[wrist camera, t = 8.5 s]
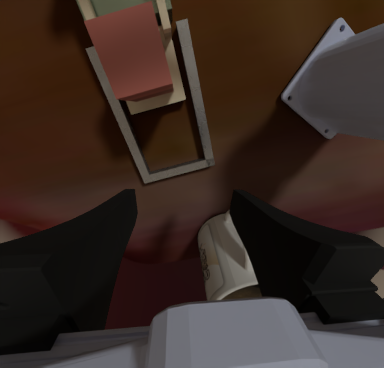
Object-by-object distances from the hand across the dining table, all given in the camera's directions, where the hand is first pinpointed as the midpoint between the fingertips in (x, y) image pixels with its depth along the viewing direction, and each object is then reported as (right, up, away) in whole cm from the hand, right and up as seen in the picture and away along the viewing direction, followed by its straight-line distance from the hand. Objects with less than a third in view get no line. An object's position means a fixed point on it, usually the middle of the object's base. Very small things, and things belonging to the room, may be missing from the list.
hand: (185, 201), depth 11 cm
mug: (+7, -7, +15) cm, 18 cm away
